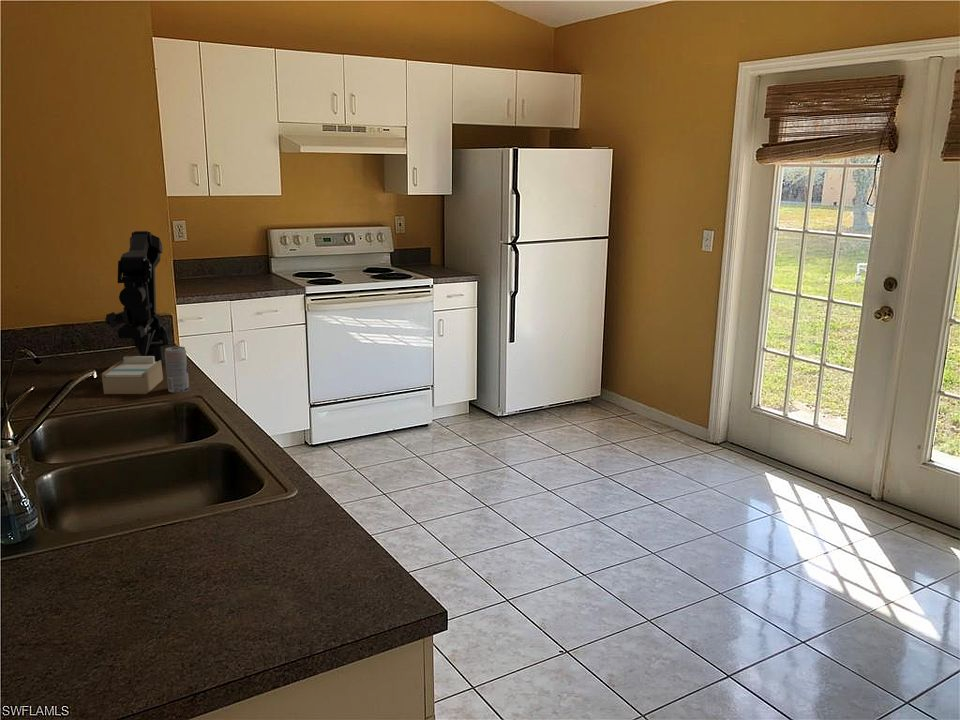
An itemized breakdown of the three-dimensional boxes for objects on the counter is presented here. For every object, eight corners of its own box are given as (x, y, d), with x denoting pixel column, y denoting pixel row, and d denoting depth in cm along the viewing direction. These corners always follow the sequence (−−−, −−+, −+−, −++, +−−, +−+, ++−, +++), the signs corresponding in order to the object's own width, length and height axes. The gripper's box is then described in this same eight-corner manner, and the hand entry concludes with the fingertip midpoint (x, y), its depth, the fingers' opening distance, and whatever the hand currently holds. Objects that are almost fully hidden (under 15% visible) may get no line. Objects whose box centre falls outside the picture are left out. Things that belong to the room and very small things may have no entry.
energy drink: (188, 387, 213) (184, 345, 209) (190, 393, 208) (187, 350, 205) (167, 390, 210) (163, 347, 207) (169, 395, 206) (165, 352, 202)
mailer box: (123, 381, 217) (120, 360, 215) (163, 381, 218) (161, 360, 216) (104, 396, 205) (101, 373, 203) (146, 395, 205) (144, 373, 204)
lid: (124, 364, 216) (123, 355, 215) (158, 364, 216) (157, 355, 216) (105, 377, 203) (104, 368, 203) (141, 377, 204) (140, 368, 203)
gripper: (121, 295, 222) (126, 347, 226) (93, 307, 204) (100, 364, 208) (160, 295, 223) (165, 347, 227) (136, 308, 205) (142, 364, 209)
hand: (143, 355), depth 218 cm, fingers closed
